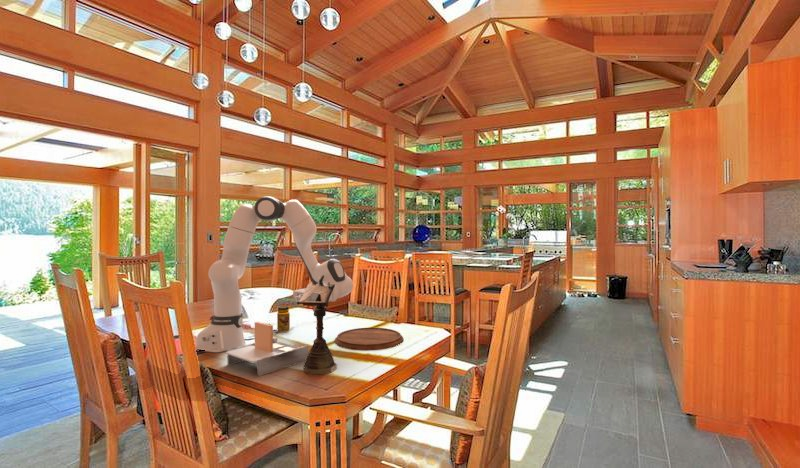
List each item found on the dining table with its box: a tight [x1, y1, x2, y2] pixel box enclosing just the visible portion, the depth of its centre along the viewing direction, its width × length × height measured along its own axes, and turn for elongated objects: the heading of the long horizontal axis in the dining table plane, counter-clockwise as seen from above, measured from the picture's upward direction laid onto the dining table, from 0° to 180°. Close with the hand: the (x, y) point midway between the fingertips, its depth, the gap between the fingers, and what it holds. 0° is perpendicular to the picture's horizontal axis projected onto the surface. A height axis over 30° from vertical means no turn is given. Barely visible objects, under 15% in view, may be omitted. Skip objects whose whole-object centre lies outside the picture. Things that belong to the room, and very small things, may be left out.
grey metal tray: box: [226, 337, 309, 377], centre depth 156 cm, size 22×21×6 cm
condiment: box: [275, 305, 293, 333], centre depth 206 cm, size 7×8×12 cm
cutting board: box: [334, 327, 404, 351], centre depth 187 cm, size 32×32×3 cm
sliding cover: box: [225, 321, 278, 364], centre depth 151 cm, size 11×18×11 cm, turn 53°
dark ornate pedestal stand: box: [295, 275, 338, 375], centre depth 146 cm, size 17×13×35 cm
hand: (297, 299), depth 168 cm, fingers closed
